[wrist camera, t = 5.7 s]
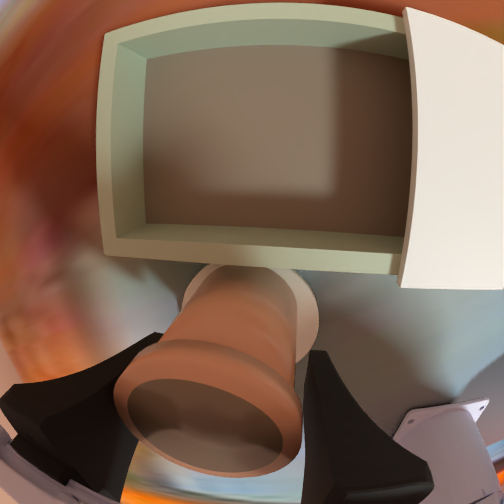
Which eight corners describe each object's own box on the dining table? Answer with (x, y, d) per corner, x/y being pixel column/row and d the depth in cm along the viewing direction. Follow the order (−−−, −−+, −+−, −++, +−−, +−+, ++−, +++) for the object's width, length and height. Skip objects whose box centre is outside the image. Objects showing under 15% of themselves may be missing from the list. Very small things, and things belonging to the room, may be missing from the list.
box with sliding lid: (467, 262, 12) (502, 289, 9) (137, 242, 14) (98, 265, 11) (475, 65, 9) (513, 50, 5) (137, 46, 11) (99, 25, 8)
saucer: (310, 372, 15) (309, 379, 15) (191, 359, 16) (188, 366, 16) (325, 257, 13) (327, 261, 13) (180, 248, 14) (176, 252, 13)
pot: (297, 359, 14) (289, 486, 7) (195, 348, 15) (138, 456, 8) (309, 260, 13) (317, 381, 6) (187, 252, 13) (90, 343, 6)
